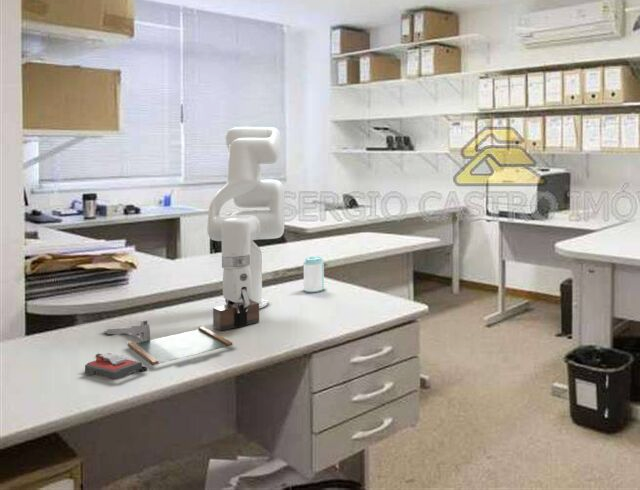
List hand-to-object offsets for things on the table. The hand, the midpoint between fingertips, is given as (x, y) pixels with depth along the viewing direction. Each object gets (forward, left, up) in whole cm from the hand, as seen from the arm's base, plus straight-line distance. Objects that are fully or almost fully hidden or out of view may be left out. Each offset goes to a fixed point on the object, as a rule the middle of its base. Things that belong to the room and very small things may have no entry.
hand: (236, 323), depth 165 cm
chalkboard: (+6, -17, -2) cm, 18 cm away
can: (-24, +38, -2) cm, 45 cm away
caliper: (-14, -24, -2) cm, 28 cm away
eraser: (0, 0, 0) cm, 0 cm away
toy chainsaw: (+10, -33, -2) cm, 35 cm away
